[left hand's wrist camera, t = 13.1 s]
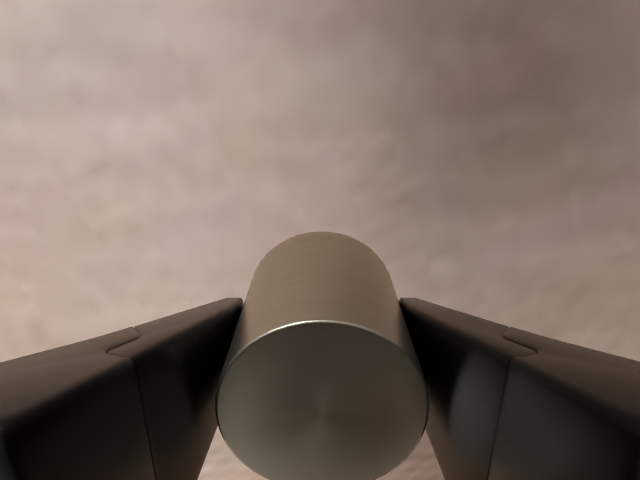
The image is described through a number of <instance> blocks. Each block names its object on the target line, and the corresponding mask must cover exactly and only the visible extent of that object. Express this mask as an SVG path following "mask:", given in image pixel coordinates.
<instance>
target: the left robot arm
mask: <svg viewBox="0 0 640 480" xmlns="http://www.w3.org/2000/svg"><path fill="white" fill-rule="evenodd" d="M399 305H400V307H401V310H402V313H403V316H404V319H405V322H406V325H407V328H408V331H409V334H410V337H411V340H412V343H413V346H414V348H415V351H416V354H417V357H418V360H419V363H420V366H421V369H422V372H423V375H424V378H425V381H426V384H427V387H428V393H429V407H430V408H429V415H428V421H427V424H426V427H425V428H426V431H427V433H428V436H429V439H430V441H431V444H432V447H433V449H434V452H435V454H436V457H437V460H438V462H439V465H440V467H441V470H442V473H443V475H444V478H445V480H640V362H639V361H635V360H631V359H627V358H623V357H620V356H616V355H612V354H608V353H604V352H600V351H596V350H593V349H589V348H585V347H581V346H577V345H573V344H569V343H566V342H562V341H558V340H555V339H551V338H547V337H544V336H540V335H537V334H533V333H530V332H526V331H523V330H520V329H516V328H513V327H508V326H505V325H501V324H498V323H495V322H492V321H488V320H485V319H482V318H479V317H475V316H472V315H469V314H466V313H462V312H459V311H456V310H453V309H449V308H446V307H443V306H440V305H436V304H433V303H430V302H427V301H423V300H420V299H417V298H401V299H400V300H399ZM243 306H244V305H243V300H242V299H241V298H225V299H222V300H219V301H215V302H212V303H209V304H206V305H202V306H199V307H196V308H193V309H190V310H186V311H183V312H180V313H177V314H173V315H170V316H167V317H164V318H161V319H157V320H154V321H151V322H148V323H144V324H141V325H138V326H135V327H134V328H133V327H130V328H126V329H123V330H120V331H116V332H113V333H110V334H106V335H103V336H99V337H96V338H92V339H88V340H85V341H81V342H77V343H74V344H70V345H66V346H62V347H58V348H54V349H51V350H47V351H43V352H39V353H35V354H32V355H28V356H24V357H20V358H16V359H12V360H9V361H5V362H1V363H0V480H197V479H198V476H199V474H200V471H201V469H202V466H203V463H204V461H205V458H206V455H207V453H208V450H209V447H210V445H211V442H212V439H213V437H214V434H215V431H216V429H217V426H218V423H217V419H216V414H215V395H216V390H217V386H218V382H219V379H220V376H221V373H222V370H223V367H224V363H225V360H226V357H227V354H228V351H229V348H230V345H231V342H232V339H233V336H234V333H235V330H236V327H237V324H238V321H239V318H240V315H241V312H242V309H243Z"/></svg>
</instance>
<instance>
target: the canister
mask: <svg viewBox="0 0 640 480" xmlns="http://www.w3.org/2000/svg"><path fill="white" fill-rule="evenodd" d="M429 408H430V407H429V393H428V387H427V384H426V381H425V378H424V375H423V372H422V369H421V366H420V363H419V360H418V357H417V354H416V351H415V348H414V346H413V343H412V340H411V337H410V334H409V331H408V328H407V325H406V322H405V319H404V316H403V313H402V310H401V307H400V305H399V302H398V299H397V296H396V293H395V290H394V287H393V284H392V281H391V278H390V275H389V273H388V271H387V269H386V267H385V265H384V263H383V262H382V261H381V259H380V258H379V257H378V256H377V255H376V254H375V253H374V252H373V251H372V250H371V249H370V248H369V247H367V246H366V245H365V244H363V243H361V242H360V241H358V240H356V239H353V238H351V237H349V236H346V235H342V234H338V233H332V232H311V233H305V234H301V235H298V236H295V237H292V238H289V239H288V240H286V241H284V242H282V243H280V244H279V245H277V246H276V247H274V248H273V249H272V250H271V251H270V252H269V253H268V254H267V255H266V256H265V257H264V258H263V259H262V261H261V262H260V264H259V265H258V267H257V269H256V271H255V273H254V275H253V278H252V281H251V284H250V287H249V290H248V293H247V296H246V300H245V303H244V306H243V309H242V312H241V315H240V318H239V321H238V324H237V327H236V330H235V333H234V336H233V339H232V342H231V345H230V348H229V351H228V354H227V357H226V360H225V363H224V367H223V370H222V373H221V376H220V379H219V382H218V386H217V390H216V395H215V414H216V419H217V423H218V427H219V429H220V432H221V434H222V437H223V439H224V440H225V442H226V444H227V445H228V447H229V448H230V449H231V451H232V452H233V453H234V454H235V456H236V457H237V458H238V459H239V460H240V461H242V462H243V463H244V464H245V465H246V466H247V467H249V468H250V469H251V470H253V471H254V472H256V473H258V474H259V475H261V476H263V477H265V478H267V479H269V480H375V479H377V478H379V477H381V476H383V475H385V474H387V473H388V472H390V471H391V470H393V469H394V468H396V467H397V466H398V465H399V464H400V463H402V462H403V461H404V460H405V459H406V458H407V457H408V456H409V455H410V454H411V452H412V451H413V450H414V448H415V447H416V446H417V444H418V443H419V441H420V439H421V437H422V435H423V433H424V430H425V427H426V424H427V421H428V415H429Z"/></svg>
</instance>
